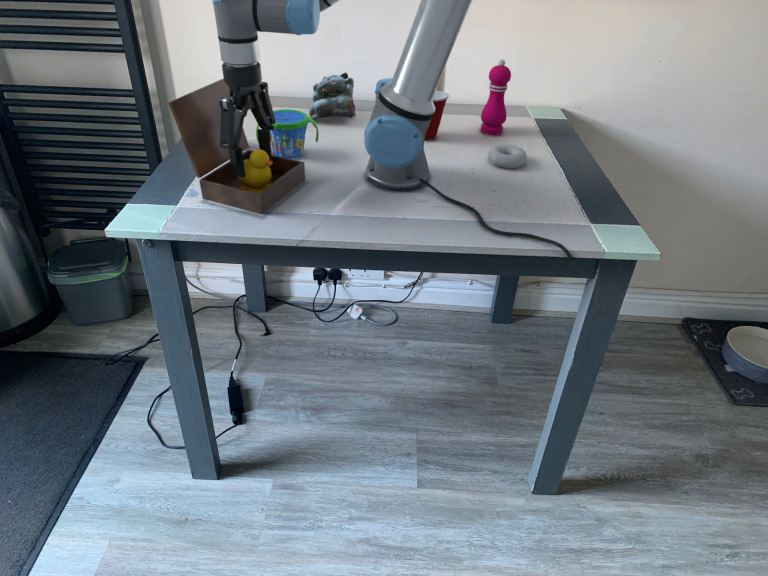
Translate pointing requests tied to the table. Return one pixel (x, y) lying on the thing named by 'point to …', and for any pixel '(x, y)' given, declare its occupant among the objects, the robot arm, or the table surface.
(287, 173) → the chest
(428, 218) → the table surface
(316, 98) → the lucky cat figurine
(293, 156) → the snack cup
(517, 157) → the donut
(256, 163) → the duck
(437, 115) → the plastic cup
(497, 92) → the pepper mill
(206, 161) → the lid
